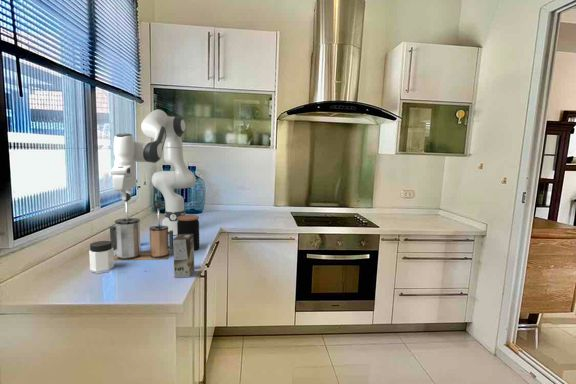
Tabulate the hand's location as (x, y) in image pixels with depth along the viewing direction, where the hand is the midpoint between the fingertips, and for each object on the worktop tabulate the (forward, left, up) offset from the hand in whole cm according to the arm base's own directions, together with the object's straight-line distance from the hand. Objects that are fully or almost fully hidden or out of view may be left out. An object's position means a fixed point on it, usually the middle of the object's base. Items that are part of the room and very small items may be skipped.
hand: (126, 198), depth 152 cm
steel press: (0, -1, -27) cm, 28 cm away
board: (-1, +6, -29) cm, 29 cm away
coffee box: (+22, +29, -29) cm, 46 cm away
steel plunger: (0, 0, -19) cm, 19 cm away
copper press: (0, +15, -28) cm, 31 cm away
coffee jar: (-10, +26, -29) cm, 40 cm away
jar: (+15, -6, -29) cm, 33 cm away
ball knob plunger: (0, +14, -19) cm, 23 cm away
